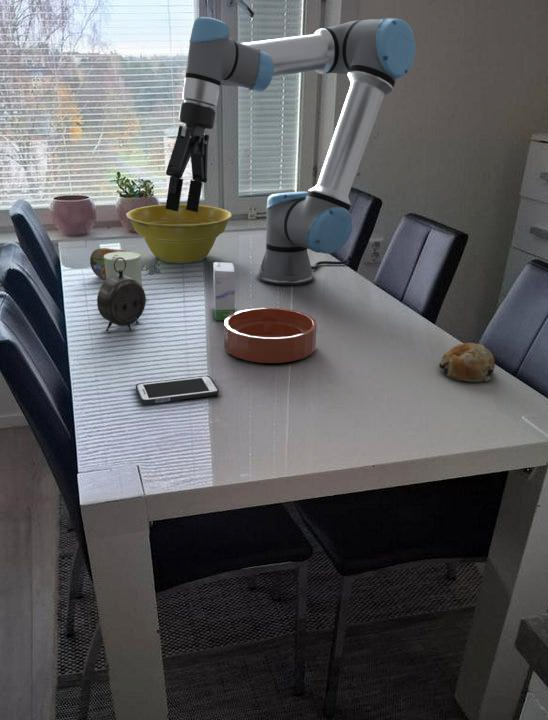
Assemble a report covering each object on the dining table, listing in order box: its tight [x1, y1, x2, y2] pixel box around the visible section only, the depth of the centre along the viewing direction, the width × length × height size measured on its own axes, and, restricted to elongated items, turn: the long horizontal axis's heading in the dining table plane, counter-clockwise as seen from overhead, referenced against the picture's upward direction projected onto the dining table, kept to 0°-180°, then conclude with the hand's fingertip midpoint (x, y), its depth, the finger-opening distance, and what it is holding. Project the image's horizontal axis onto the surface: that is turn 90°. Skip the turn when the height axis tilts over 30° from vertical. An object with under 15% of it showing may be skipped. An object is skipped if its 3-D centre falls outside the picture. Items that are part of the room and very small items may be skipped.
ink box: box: [212, 261, 236, 321], centre depth 160 cm, size 8×5×12 cm, turn 5°
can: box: [104, 250, 143, 287], centre depth 169 cm, size 9×9×12 cm
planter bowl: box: [125, 203, 233, 264], centre depth 206 cm, size 32×32×13 cm
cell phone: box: [135, 375, 220, 405], centre depth 125 cm, size 8×15×1 cm, turn 107°
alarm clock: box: [96, 257, 147, 333], centre depth 150 cm, size 11×5×16 cm, turn 135°
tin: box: [89, 247, 132, 280], centre depth 187 cm, size 15×3×8 cm, turn 68°
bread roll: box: [438, 342, 496, 383], centre depth 132 cm, size 10×10×8 cm
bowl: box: [223, 307, 318, 364], centre depth 143 cm, size 20×20×6 cm
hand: (182, 210), depth 150 cm, fingers open, 13 cm apart
